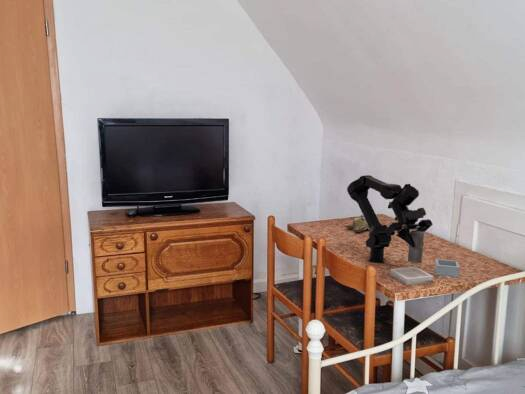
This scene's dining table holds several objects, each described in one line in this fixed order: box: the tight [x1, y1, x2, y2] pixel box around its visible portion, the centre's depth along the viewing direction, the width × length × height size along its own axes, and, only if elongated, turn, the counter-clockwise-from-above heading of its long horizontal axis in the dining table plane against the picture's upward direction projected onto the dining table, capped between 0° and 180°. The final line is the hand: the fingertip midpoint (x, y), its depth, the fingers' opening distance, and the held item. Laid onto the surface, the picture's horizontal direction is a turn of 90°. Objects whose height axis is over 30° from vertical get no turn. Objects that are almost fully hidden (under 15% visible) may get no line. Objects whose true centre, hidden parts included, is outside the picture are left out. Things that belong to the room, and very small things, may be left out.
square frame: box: [434, 258, 460, 278], centre depth 202 cm, size 8×8×4 cm
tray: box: [389, 266, 434, 286], centre depth 194 cm, size 12×12×2 cm
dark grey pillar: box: [407, 230, 425, 265], centre depth 192 cm, size 4×4×12 cm
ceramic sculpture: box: [343, 214, 370, 233], centre depth 265 cm, size 11×9×15 cm
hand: (418, 246), depth 191 cm, fingers closed on dark grey pillar, 4 cm apart
